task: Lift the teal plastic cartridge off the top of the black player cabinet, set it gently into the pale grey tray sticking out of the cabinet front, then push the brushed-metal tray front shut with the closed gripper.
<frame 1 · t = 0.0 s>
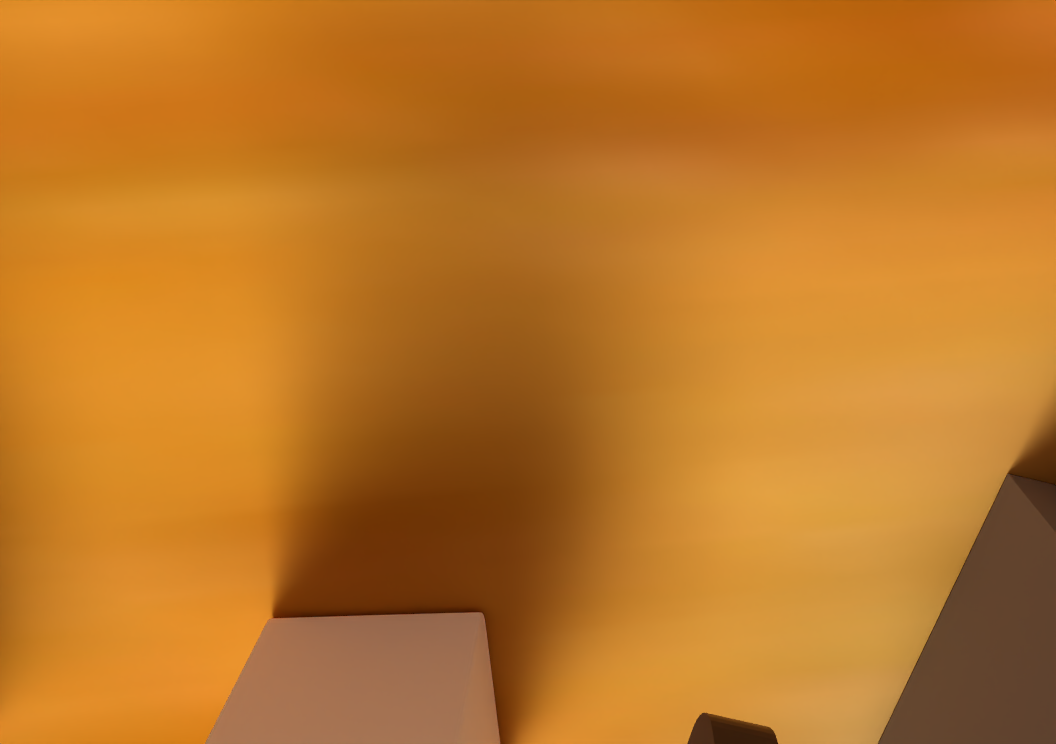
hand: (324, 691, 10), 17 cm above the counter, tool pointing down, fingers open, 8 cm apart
milk carton: (392, 693, 33), on the counter
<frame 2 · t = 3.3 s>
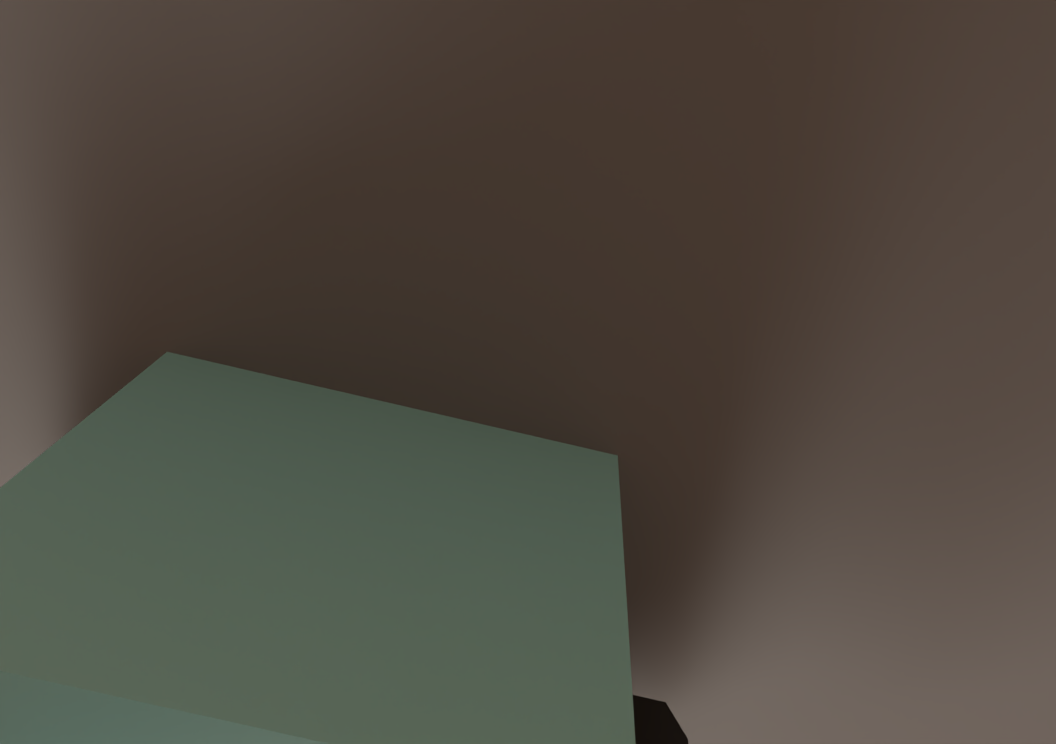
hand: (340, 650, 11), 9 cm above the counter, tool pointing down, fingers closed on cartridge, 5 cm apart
cartridge: (351, 628, 12), point 9 cm above the counter, touching cabinet, gripper
cabinet: (471, 275, 19), on the counter
when the fingers open (4 cm above the counter, at t = 8.1 s): cartridge drops 1 cm, resting on tray.
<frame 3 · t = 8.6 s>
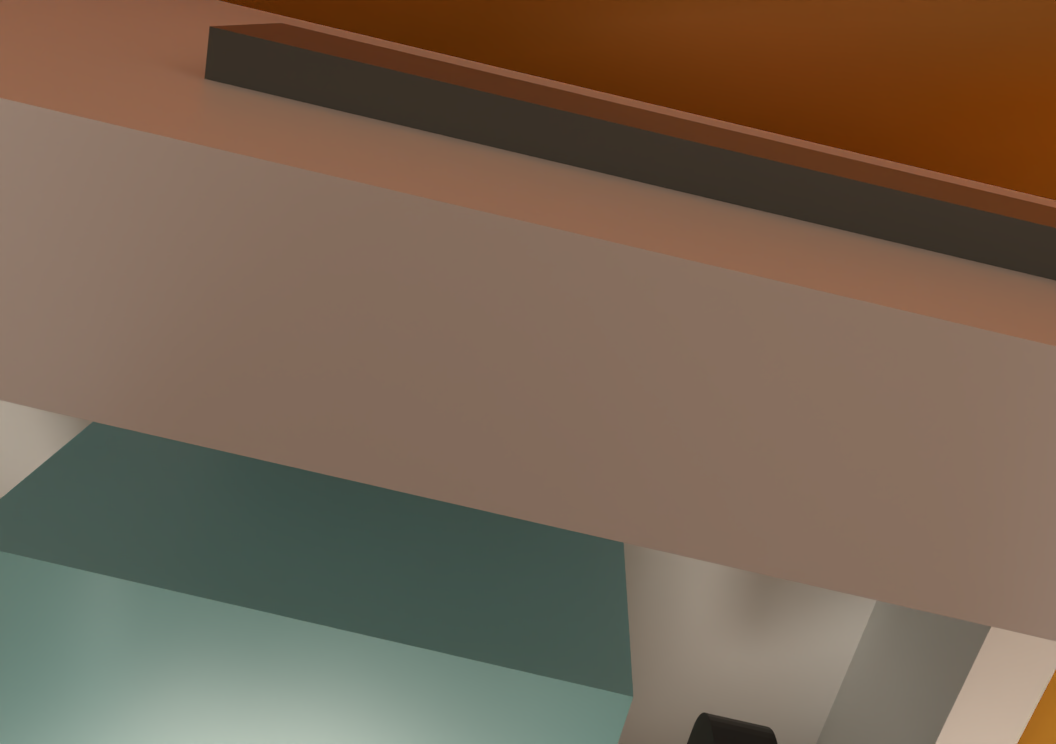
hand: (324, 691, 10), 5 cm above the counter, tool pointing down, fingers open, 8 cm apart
cartridge: (372, 580, 13), point 2 cm above the counter, touching tray
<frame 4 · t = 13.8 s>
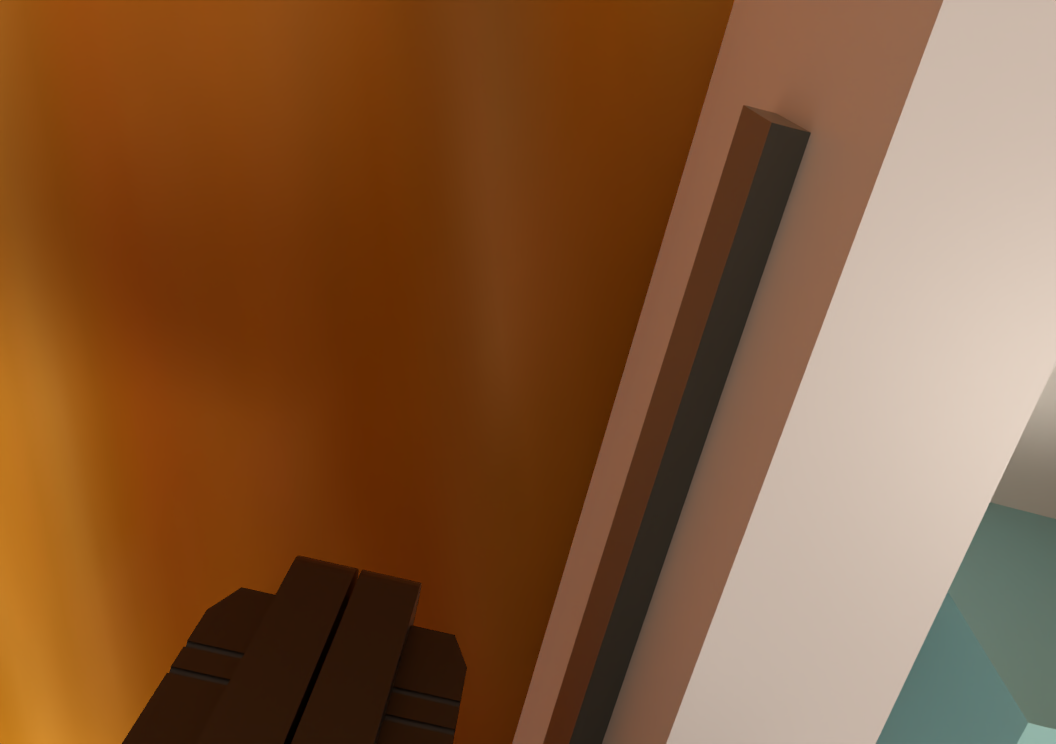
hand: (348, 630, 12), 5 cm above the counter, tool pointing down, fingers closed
cartridge: (1006, 667, 14), point 2 cm above the counter, touching tray
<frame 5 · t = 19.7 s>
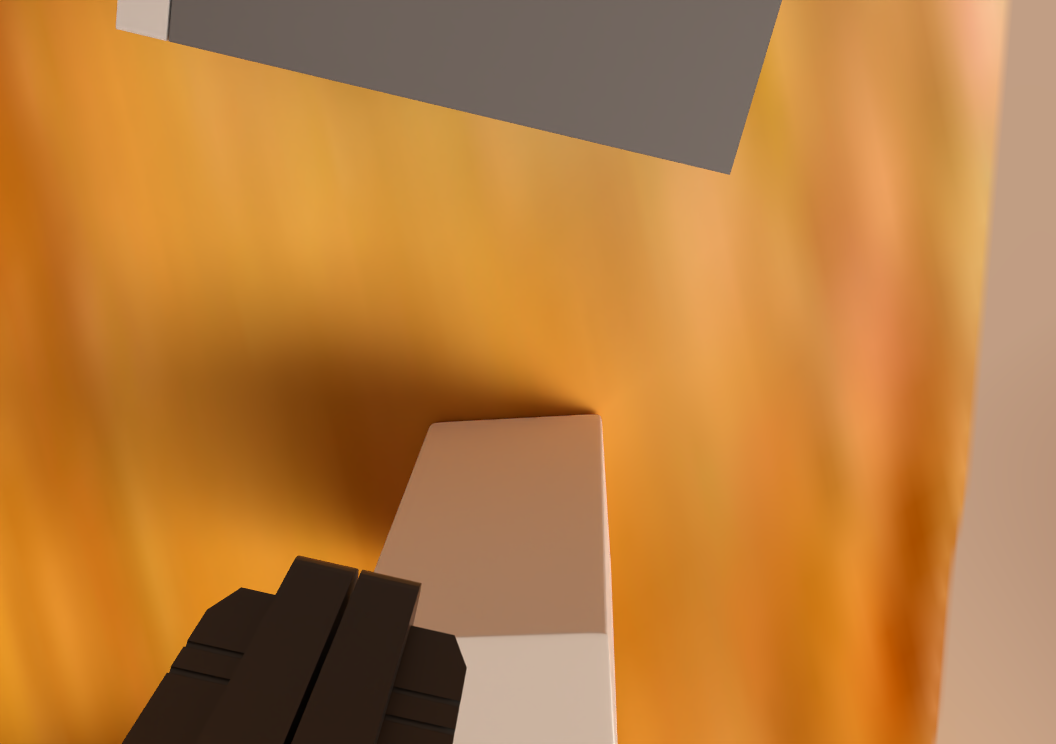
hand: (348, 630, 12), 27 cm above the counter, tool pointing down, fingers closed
milk carton: (522, 490, 41), on the counter
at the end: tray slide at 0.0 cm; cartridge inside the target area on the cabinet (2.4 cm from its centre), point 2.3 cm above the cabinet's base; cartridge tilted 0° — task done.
